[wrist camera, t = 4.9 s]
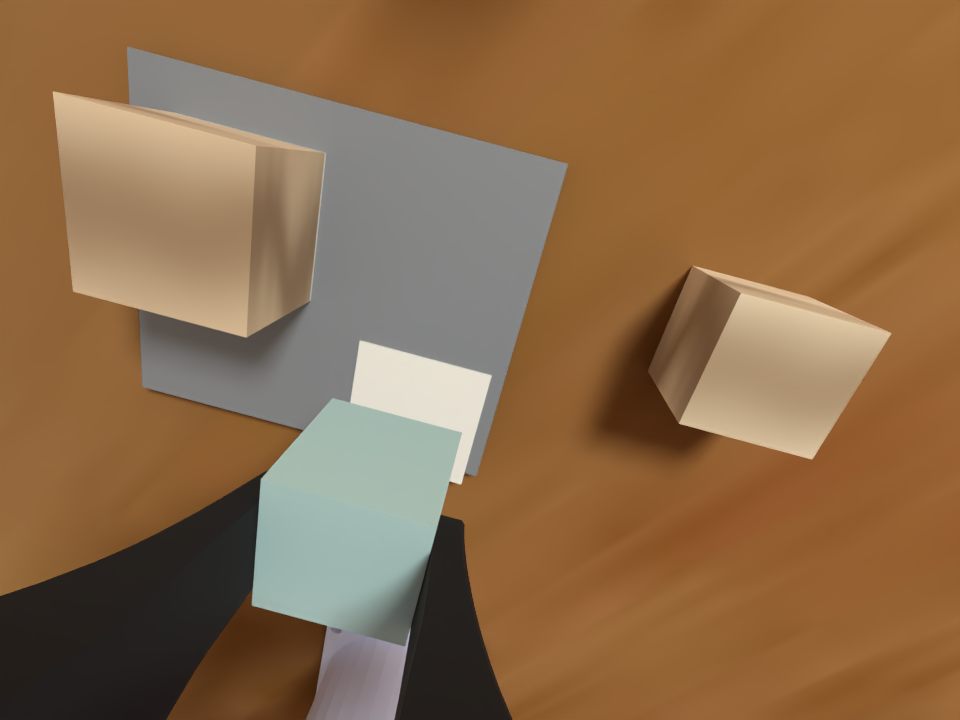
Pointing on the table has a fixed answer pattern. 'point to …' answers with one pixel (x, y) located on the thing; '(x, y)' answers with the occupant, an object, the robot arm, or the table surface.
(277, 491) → the teal cube
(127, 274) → the oak cube
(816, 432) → the maple cube
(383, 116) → the slate board
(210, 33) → the table surface
